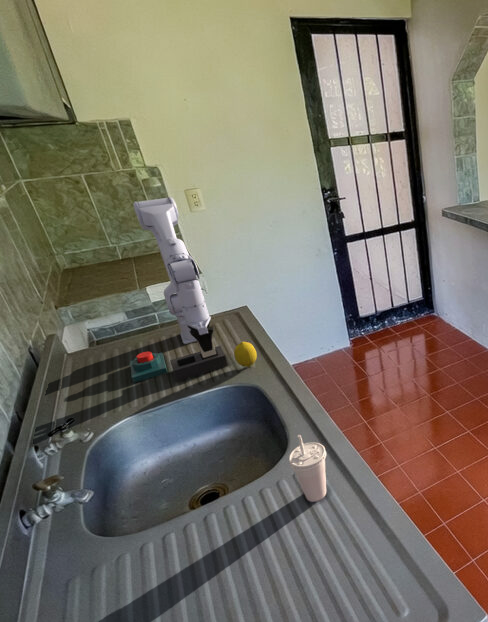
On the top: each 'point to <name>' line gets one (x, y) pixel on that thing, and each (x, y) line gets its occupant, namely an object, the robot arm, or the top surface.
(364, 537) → the top surface
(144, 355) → the power button
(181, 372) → the dark grey slotted block
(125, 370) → the top surface
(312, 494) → the smoothie
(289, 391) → the top surface
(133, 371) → the switch block
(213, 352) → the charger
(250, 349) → the lemon
